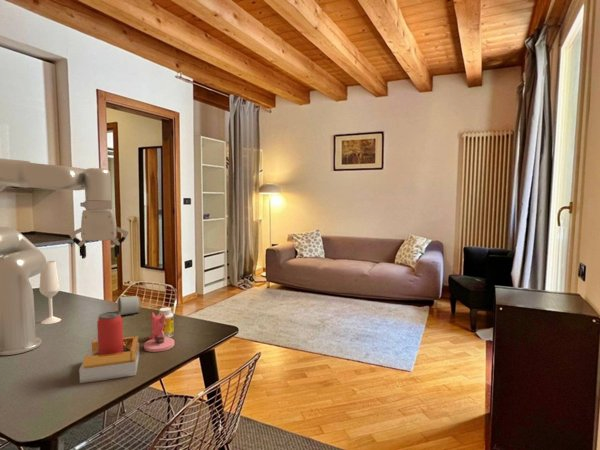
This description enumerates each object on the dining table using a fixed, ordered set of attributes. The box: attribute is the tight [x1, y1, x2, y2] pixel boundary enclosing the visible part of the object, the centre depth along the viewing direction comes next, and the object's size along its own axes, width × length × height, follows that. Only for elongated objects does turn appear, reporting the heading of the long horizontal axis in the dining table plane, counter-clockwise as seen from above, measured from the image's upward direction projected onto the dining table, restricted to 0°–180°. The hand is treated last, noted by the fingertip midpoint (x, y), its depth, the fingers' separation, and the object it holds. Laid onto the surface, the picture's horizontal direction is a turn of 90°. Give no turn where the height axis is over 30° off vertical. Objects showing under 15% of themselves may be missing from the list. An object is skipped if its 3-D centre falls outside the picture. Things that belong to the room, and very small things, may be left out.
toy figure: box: [143, 310, 175, 353], centre depth 123 cm, size 10×10×12 cm
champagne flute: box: [39, 260, 62, 325], centre depth 144 cm, size 7×7×24 cm
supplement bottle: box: [156, 307, 175, 338], centre depth 131 cm, size 6×6×10 cm
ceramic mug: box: [117, 295, 142, 317], centre depth 156 cm, size 11×8×8 cm
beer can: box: [96, 311, 124, 355], centre depth 107 cm, size 7×7×12 cm
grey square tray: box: [78, 335, 140, 384], centre depth 108 cm, size 14×14×6 cm
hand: (100, 257), depth 121 cm, fingers open, 9 cm apart
